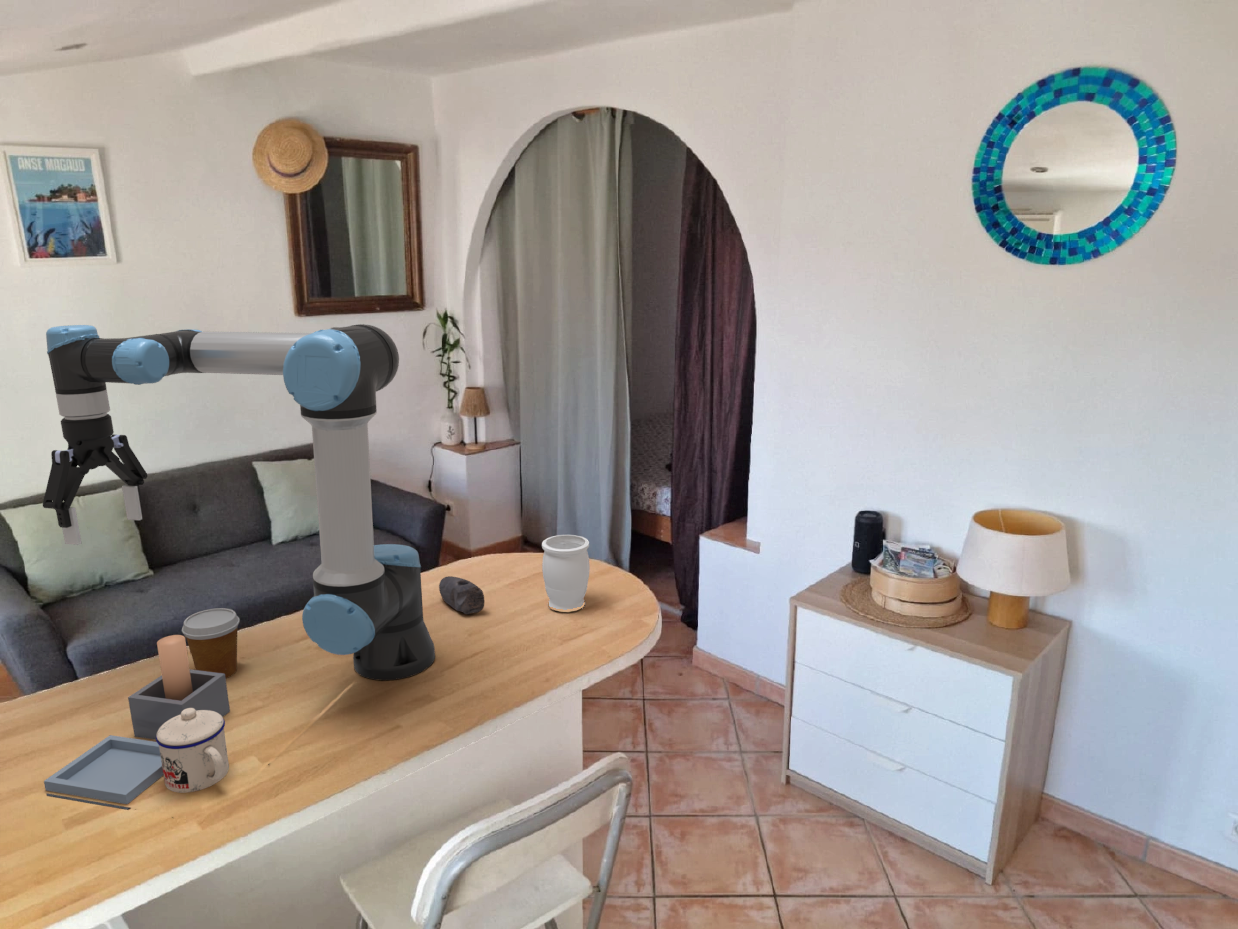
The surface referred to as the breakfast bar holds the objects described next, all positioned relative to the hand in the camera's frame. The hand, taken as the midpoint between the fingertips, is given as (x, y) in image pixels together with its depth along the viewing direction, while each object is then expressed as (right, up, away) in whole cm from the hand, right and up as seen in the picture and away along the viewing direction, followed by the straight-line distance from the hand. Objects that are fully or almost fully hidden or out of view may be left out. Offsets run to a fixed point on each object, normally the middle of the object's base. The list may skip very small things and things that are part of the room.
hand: (105, 531), depth 150 cm
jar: (+81, -20, +35) cm, 90 cm away
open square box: (+21, -32, -12) cm, 40 cm away
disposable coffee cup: (+18, -28, +4) cm, 33 cm away
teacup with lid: (+31, -36, -26) cm, 54 cm away
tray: (+18, -35, -25) cm, 46 cm away
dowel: (+21, -31, -13) cm, 39 cm away
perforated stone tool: (+57, -20, +34) cm, 70 cm away
